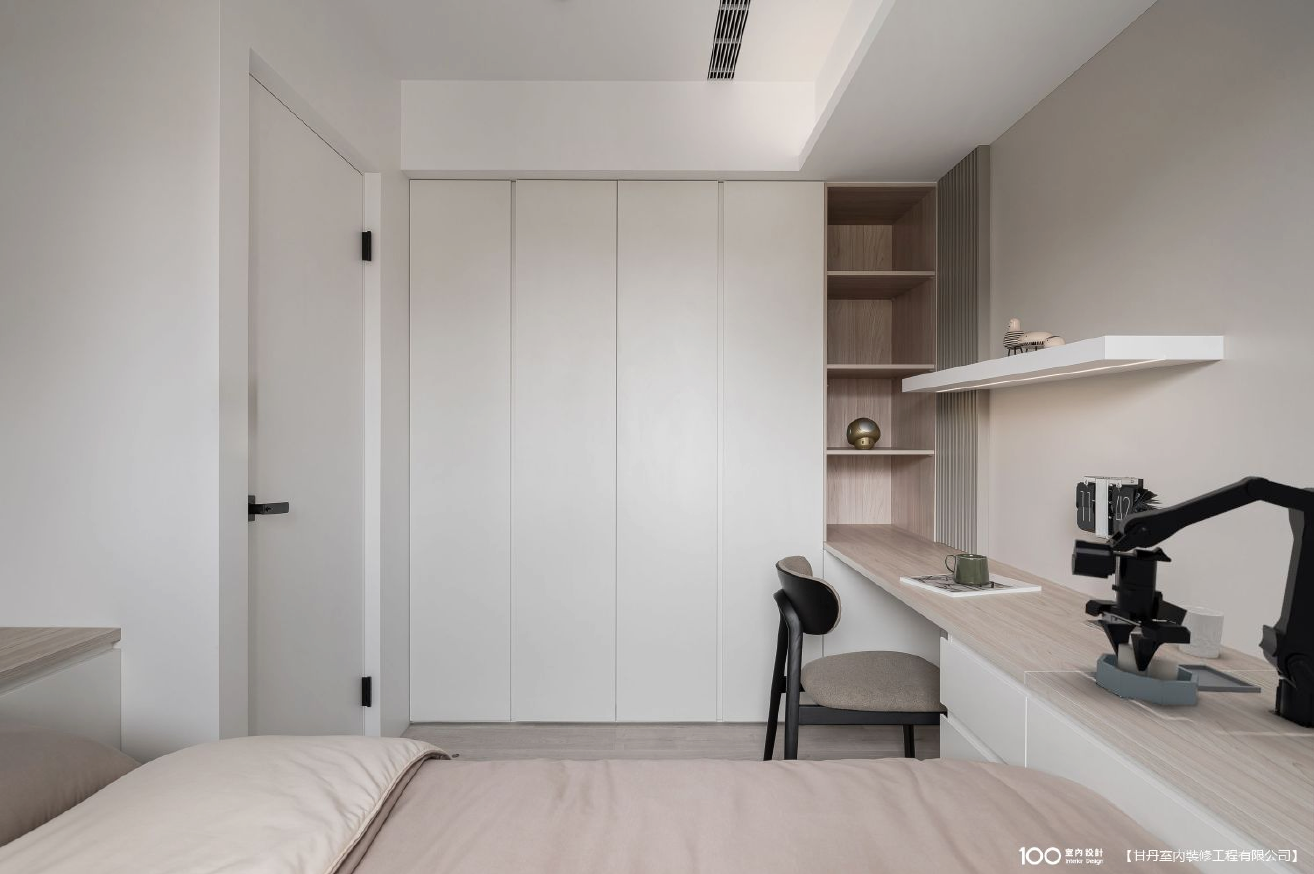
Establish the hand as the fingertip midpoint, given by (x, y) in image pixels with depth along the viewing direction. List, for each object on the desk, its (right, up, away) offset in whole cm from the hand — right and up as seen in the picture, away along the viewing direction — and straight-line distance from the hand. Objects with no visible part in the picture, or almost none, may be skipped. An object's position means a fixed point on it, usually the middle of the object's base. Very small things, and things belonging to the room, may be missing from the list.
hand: (1131, 666), depth 124 cm
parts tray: (+18, -5, +7) cm, 20 cm away
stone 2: (0, -1, 0) cm, 1 cm away
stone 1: (+6, -4, 0) cm, 7 cm away
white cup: (+31, -6, +24) cm, 40 cm away
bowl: (+3, -5, 0) cm, 5 cm away
